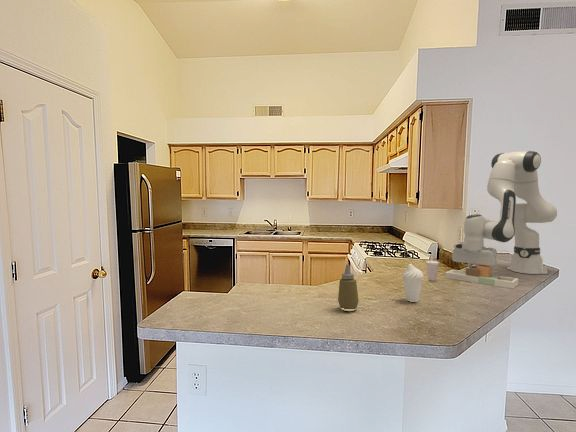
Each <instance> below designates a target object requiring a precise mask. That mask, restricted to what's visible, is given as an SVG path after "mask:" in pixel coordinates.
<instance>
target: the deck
mask: <svg viewBox="0 0 576 432" xmlns="http://www.w3.org/2000/svg"><path fill="white" fill-rule="evenodd" d="M471 267H472V268H474V269H470V268H469V267H468V268H467V267H466V268H465V270H459V269H449V270H448V271H446V272H444V278H445V279H449V280H455V281H461V282H467V283H469V282H470V283H475V284H480V283H481V285H488V286H492V287H493V286H494V287H500V288H506V289H515V288H516V287H518V286H519V281H520V280H519V278H518V277H510V276H503V275H495V274H491V276H490V277H488V278H487V277H481V276H479V270H476V269H475V268H476V266H475V265H471Z"/></svg>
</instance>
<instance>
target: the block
mask: <svg viewBox="0 0 576 432" xmlns="http://www.w3.org/2000/svg"><path fill="white" fill-rule="evenodd" d="M477 270H479V276H481V277H487V278H488V277H490V276H491V275H492V266H487V265H478V266H477Z"/></svg>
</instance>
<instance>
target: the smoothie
mask: <svg viewBox="0 0 576 432" xmlns="http://www.w3.org/2000/svg"><path fill="white" fill-rule="evenodd" d="M430 254H431V260H426V261H425V264H426V270H427V271H426V272H427V279H428V281H431V282H437V276H438V272H439V271H438V270H439V264H440V261H436V260H433V253H430Z"/></svg>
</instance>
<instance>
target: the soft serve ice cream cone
mask: <svg viewBox="0 0 576 432" xmlns="http://www.w3.org/2000/svg"><path fill="white" fill-rule="evenodd" d="M401 277H402V279H403V280H402V281H403V285H404V286H403V289H404V292H405V295H406V296H405V297H406V301H407V302H408V301H410V302H409V303H411V302H417V303H419V299H420V296H421V295H420V294H421V290H422V288H421V287H422V282H423V280H422V279H423V278H424V273H423V272H422V271H421V270H420V269H419V268H418V267H417V268H416V267H415V266H414V265H413V264H412V263H409V264H408V265H407V266H406V269H405V270H404V271H403V272H402V274H401Z"/></svg>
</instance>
